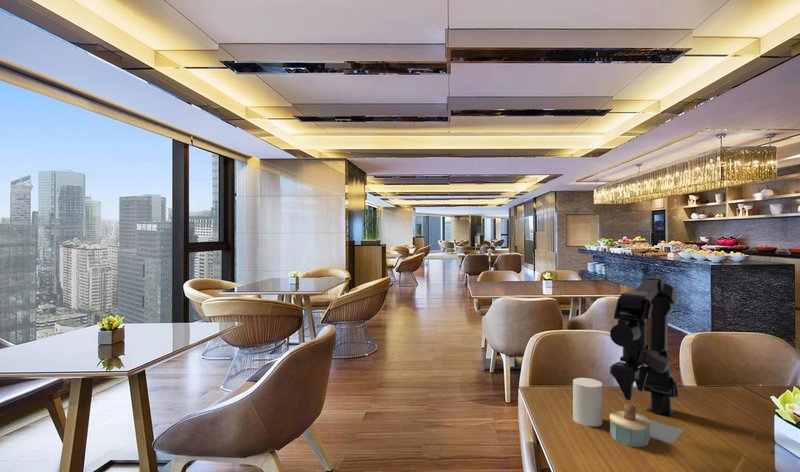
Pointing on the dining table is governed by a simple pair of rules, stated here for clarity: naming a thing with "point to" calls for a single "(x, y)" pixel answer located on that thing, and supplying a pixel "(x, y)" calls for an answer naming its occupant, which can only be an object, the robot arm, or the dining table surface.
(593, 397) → the white cylinder
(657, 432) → the mat
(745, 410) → the dining table surface
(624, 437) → the grooved blue cylinder
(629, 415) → the lid
